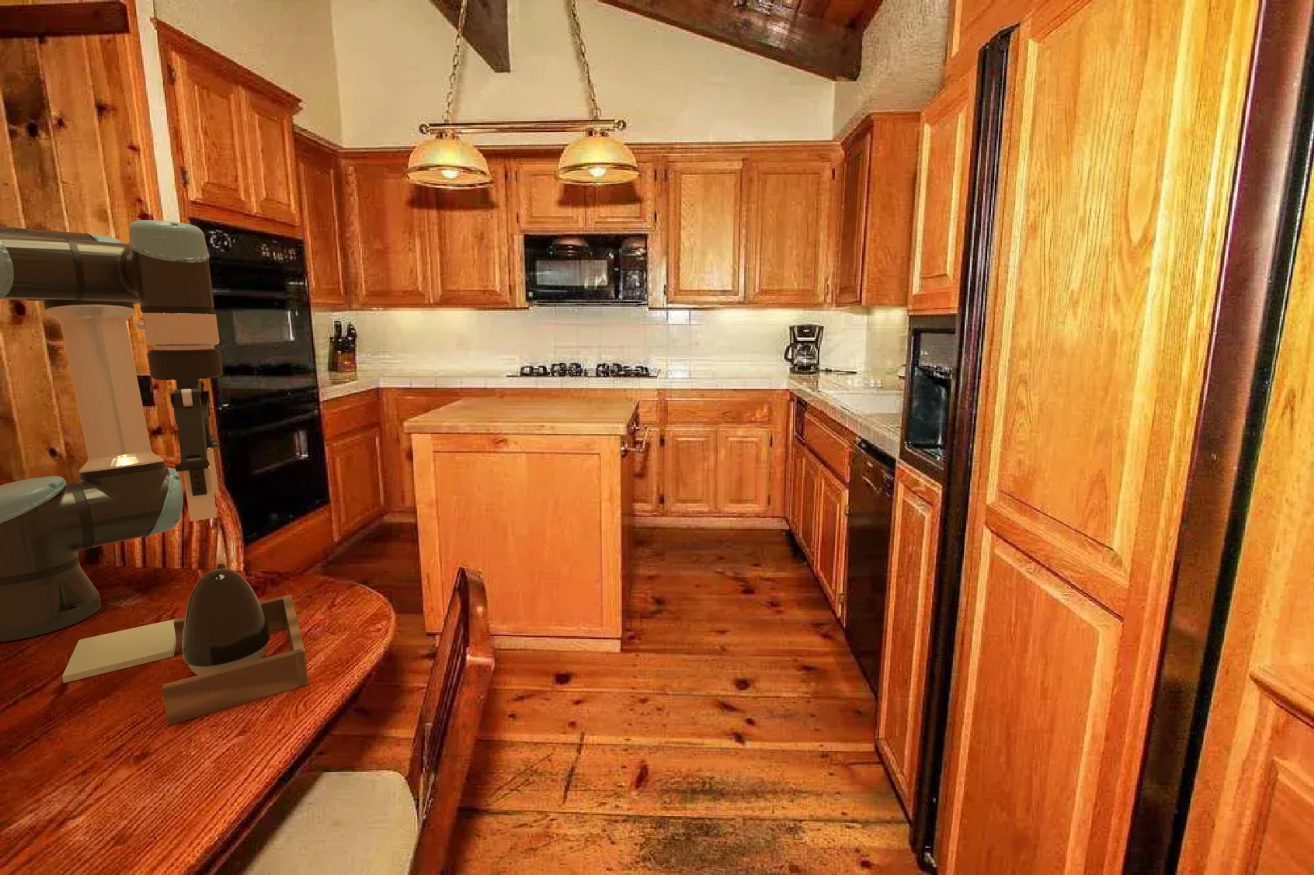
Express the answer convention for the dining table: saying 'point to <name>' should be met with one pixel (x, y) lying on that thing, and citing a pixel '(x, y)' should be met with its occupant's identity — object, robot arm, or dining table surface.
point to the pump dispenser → (223, 623)
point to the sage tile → (121, 650)
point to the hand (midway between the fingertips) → (205, 505)
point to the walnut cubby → (241, 672)
